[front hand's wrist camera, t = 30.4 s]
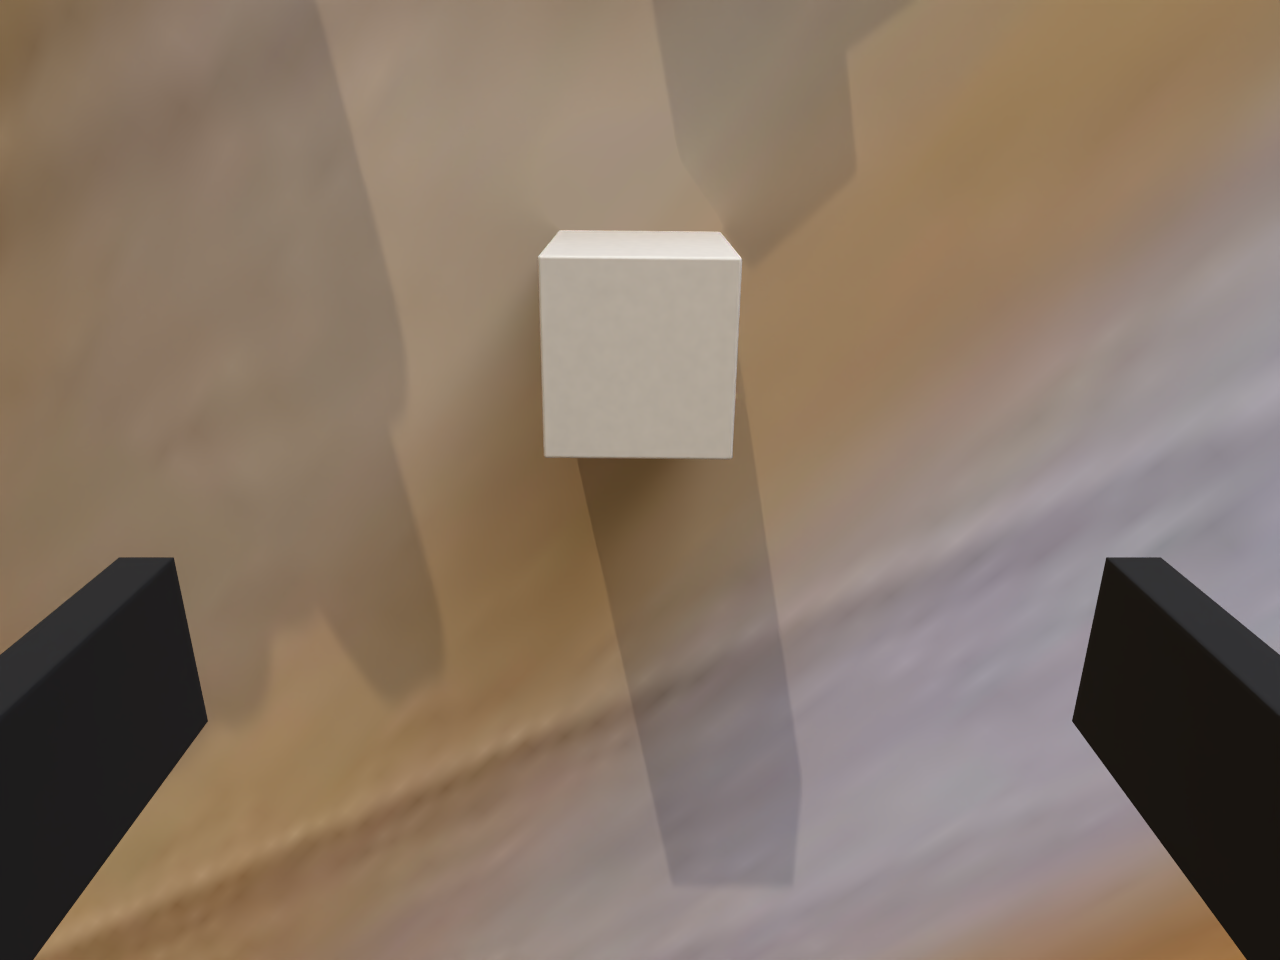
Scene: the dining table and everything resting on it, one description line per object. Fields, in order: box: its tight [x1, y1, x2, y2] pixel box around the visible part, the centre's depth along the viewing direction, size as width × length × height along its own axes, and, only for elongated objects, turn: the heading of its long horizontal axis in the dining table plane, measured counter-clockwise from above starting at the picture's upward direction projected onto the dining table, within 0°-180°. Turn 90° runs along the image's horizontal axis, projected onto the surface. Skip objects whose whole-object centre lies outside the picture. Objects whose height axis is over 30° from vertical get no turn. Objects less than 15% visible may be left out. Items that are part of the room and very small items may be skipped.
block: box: [538, 230, 742, 459], centre depth 32 cm, size 6×6×8 cm
